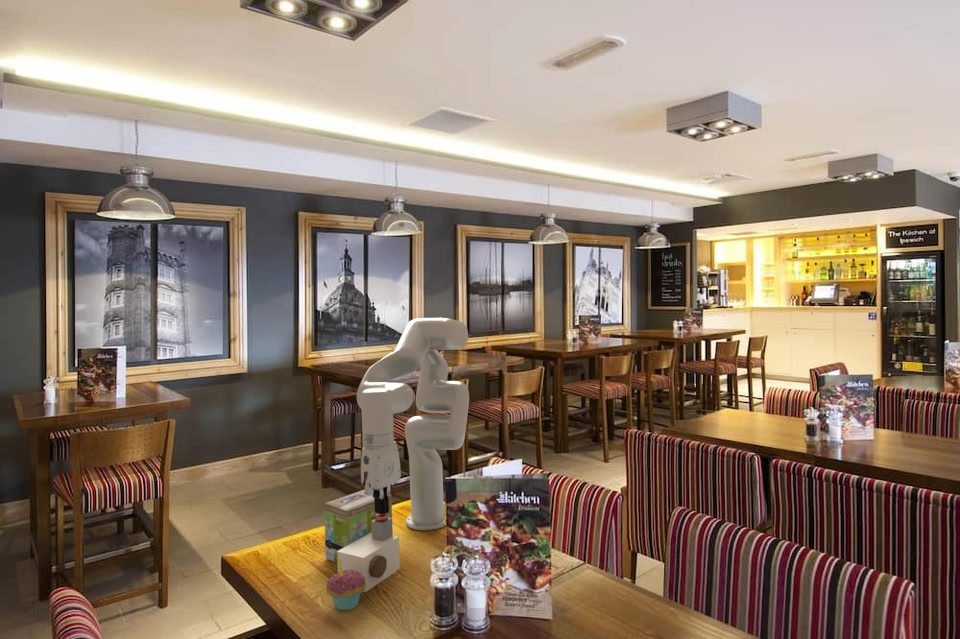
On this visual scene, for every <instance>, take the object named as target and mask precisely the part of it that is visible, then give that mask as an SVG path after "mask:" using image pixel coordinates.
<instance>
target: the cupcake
mask: <svg viewBox="0 0 960 639" xmlns="http://www.w3.org/2000/svg"><path fill="white" fill-rule="evenodd" d="M337 557H338V555H337ZM337 561H338V563H337V568H338V567H339V572H338V571H337V572H336V573H335V574H332V576H330V577H329V579H328V580H327V581H326V583H325V584H326V587H325V589H326V590H325V591H326V593H327V594H328V596H329V597H331V598H332V599H333V603H334V605H335V607H336V609H337V610H340V611H348V610H352V609H355V608H356V607H357V606H358V605H359V602H360V601H359V600H360V597H361V595H362V593H363V592H362V591H363V590H364V589H365V587H366V582H365V578H364V576H363V575H362V574H361V573H359V572H357V571H354V570H344V571H342V566H341V560H340V557H338V558H337Z"/></svg>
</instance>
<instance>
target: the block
mask: <svg viewBox="0 0 960 639" xmlns="http://www.w3.org/2000/svg"><path fill="white" fill-rule="evenodd" d="M371 529H372V532H371V533H369V534H368V535H366V536H364V537H362V538H360V539H359V540H357V541H355V542H353V543H351V544H349V545H348V546H346V547H344V548H342V549H340V550H338V551H337V555H338V557H340V560H341V566H342V571H344V570H354V571H357V572H359V573H361V574H362V575H363V576H364V578H365V582H366V587H365V589H364V590H363V591H362V592H361V593H366V592H367V591H369V590H371V589H372V588H374V587H375V586H376V585H378V584H380V583H381V582H383V581H384V580H385V579H387V578H388V577H391V576H392V575H393V574H395V573H396V572H398V571H399V570H401V556H400V554H401V553H400V537H399V536H397V535H394V533H393V531H394V530H393V517H392V518H388V519H387V520H385V521H384V522H379V521H376V520H375V519H374V520H372V521H371ZM377 555H380V556H384V557H385V558H386V561H387V566H386V570H385V572H384V574H383V575H382V576H381V577H380V578H375V577H372V576H371V575H370V572H369V567H370V561H372V559H373V558H374V557H375V556H377ZM338 557H337V558H338ZM397 570H398V571H397ZM337 572H339V567H338V566H337Z"/></svg>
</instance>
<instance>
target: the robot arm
mask: <svg viewBox="0 0 960 639" xmlns="http://www.w3.org/2000/svg"><path fill="white" fill-rule="evenodd" d="M468 340H469V331H468V327H467V326H466V324H465V323H464V322H463V321H460V320H456V319H451V318H448V317H420V318H414V319H411V320H410V321H409V322H408V323H407V324H406V326H405V328H404V329H403V331H402V334H401V335H400V338H399V340H398V342H397V344H396V345H395V346H396V347H395V348H394V350H393V351H392V352H390V353H388V354H387V355H386V356H384V357H383V358H381V359H379V360H378V361H377V362H375V363H374V364H372V365H371V366H370V367H369V368H368V369H367V370H366V373H365V374H364V376H363V377H362V380H361V382H360V384H359V386H358V388H357V391H356V401H357V402H356V403H357V406H358V408H360V409H361V424H362V425H361V426H362V429H361V430H362V449H361V460H360V480H361V486H362V487H363V488H364V489H365V492H364V494H365V495H372V497H373V498H374V505H375V513H378V514H383V515H385V514H386V513H388V512H389V498H388V496H389V495H391V488H392V487H393V485H395V484H396V483H397V482H398V481H399V480H400V479H401V475H402V474H401V470H402V469H401V461H400V452H399V449H398V445H397V442H396V441H395V431H394V430H395V426H394V415H395V414H400V413H403V412H407V410H409V409H410V408H411V406H412V404H413V402H414V398H415V406H416V408H417V409H418V410H419V411H421V412H424V413H435V414H449V415H429V414H427V415H425V414H423V415H422V414H421V415H415V416H412V417H410V418H409V419H408V420H407V421H406V423H405V424H404V426H405V427H404V436H405V441H406V446H407V451H408V457H409V458H408V464H409V484H410V485H409V488H410V491H409V492H410V515H408V516H407V518H406V520H405V521H406V522H405V523H406V526H407V527H408V528H409V529H412V530H417V531H433V530H437V529H438V530H439V529H442V528H444V527H446V526H445V514H446V510H445V501H444V482H443V481H444V479H443V477H444V476H443V463H442V459H441V456H440V454H439V453H438V452H437V450H444V451H445V450H447V451H448V450H449V451H452V450H453V451H454V450H459V449H460V448H462V446H463V444H464V442H465V438H466V432H467V431H466V430H467V422H468V421H467V420H468V416H469V415H468V413H469V408H470V406H469V405H470V392H469V388H468V386H467V385H466V384H465V383H464V382H463V381H459V380H448V375H449V365H448V363H447V361H446V359H445V358H444V357H443V356H442V355H441V353H440V352H439V351H438V350H440V351H441V350H443V351H445V350H448V351H449V350H452V351H453V350H454V351H455V350H463V349H464V348H465V347H466V346H467V344H468ZM419 369H420V370H419ZM418 370H419V377H418V382H417V389H416V394H414V393H415V392H414V390H413V388H412V387H411V386H410V385H409V384H407V383H404V382H392V380H395V379H397V378H401V377H403V376H407V375H410V374H412V373H414V372H417V371H418ZM390 381H391V382H390ZM414 395H415V396H414Z"/></svg>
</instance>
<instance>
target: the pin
mask: <svg viewBox="0 0 960 639" xmlns="http://www.w3.org/2000/svg"><path fill="white" fill-rule="evenodd" d="M334 561H336V562H338V561H337V551H336V552H335V554H334ZM336 562H335V563H336ZM386 566H387V561H386V558H385V557H384V556H380V555H377V556H375V557H374V558H373V559H372V561H370V567H369V572H370V575H371V576H372V577H375V578H380V577H381V576H382V575H383V574H384V572H385V570H386Z"/></svg>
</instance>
